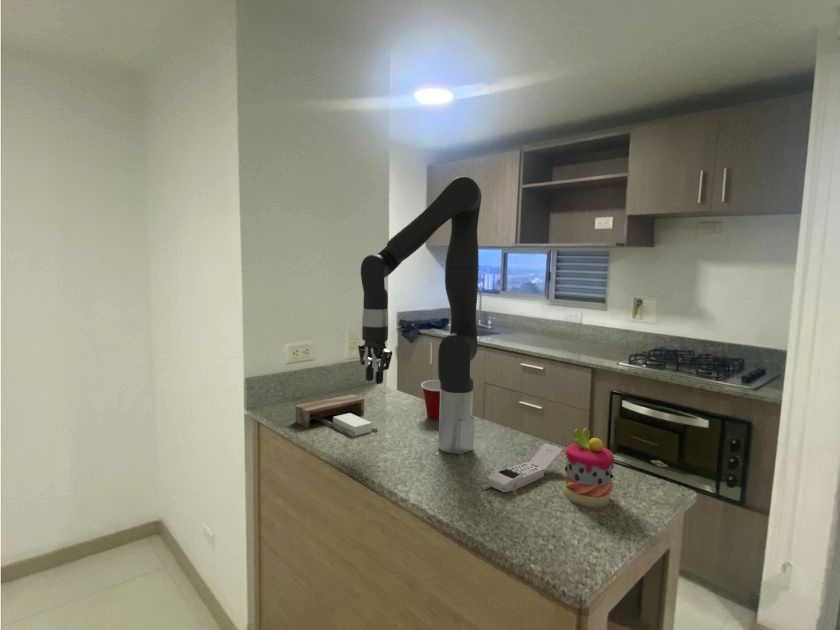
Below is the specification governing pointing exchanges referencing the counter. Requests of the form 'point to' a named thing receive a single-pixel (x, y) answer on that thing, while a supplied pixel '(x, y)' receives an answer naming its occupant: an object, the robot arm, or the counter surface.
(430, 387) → the plastic cup
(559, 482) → the counter surface
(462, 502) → the counter surface
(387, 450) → the counter surface
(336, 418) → the cream rectangular block
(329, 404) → the overhang
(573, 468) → the cake
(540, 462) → the mobile phone
